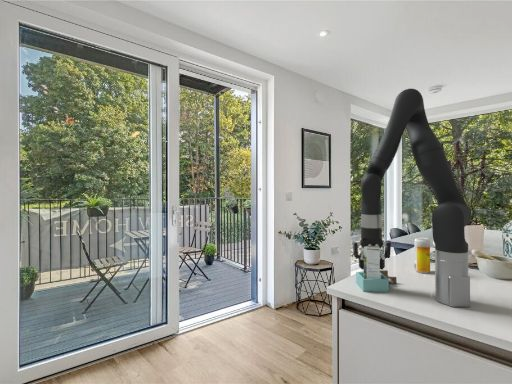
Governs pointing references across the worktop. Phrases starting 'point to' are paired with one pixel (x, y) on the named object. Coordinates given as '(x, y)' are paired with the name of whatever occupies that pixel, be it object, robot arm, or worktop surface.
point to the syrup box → (371, 262)
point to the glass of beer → (422, 255)
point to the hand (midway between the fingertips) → (371, 268)
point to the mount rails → (391, 279)
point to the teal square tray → (372, 283)
